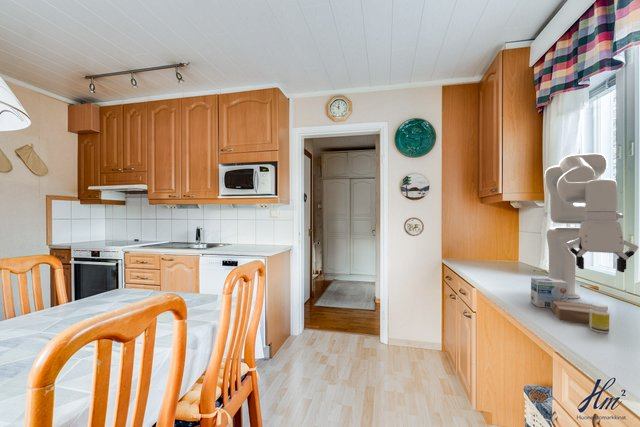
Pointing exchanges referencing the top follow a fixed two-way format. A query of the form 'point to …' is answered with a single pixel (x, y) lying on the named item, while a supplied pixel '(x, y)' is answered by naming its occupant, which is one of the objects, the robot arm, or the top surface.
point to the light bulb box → (548, 291)
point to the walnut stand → (571, 311)
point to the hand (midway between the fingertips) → (600, 270)
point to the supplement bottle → (599, 318)
